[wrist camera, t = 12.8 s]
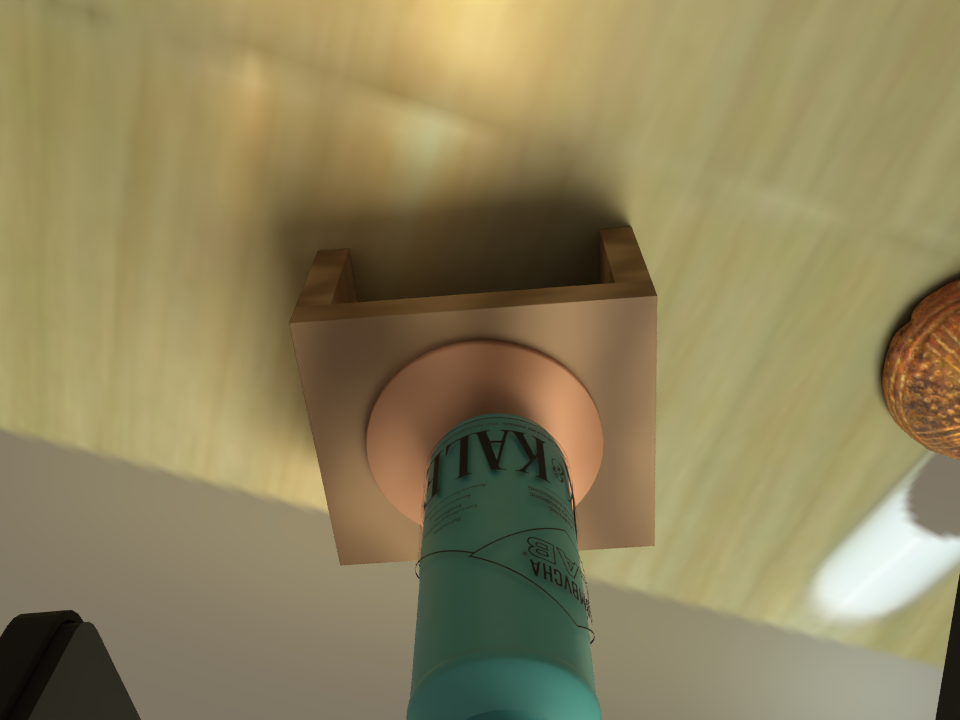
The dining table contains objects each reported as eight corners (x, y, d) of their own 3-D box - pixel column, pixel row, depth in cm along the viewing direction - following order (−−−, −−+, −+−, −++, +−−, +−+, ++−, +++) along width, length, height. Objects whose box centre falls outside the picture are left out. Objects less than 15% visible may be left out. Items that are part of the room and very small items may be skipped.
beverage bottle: (518, 524, 45) (545, 957, 27) (399, 466, 43) (347, 890, 26) (595, 428, 42) (678, 842, 25) (470, 363, 40) (467, 758, 23)
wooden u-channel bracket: (631, 226, 46) (659, 301, 39) (632, 453, 53) (656, 553, 46) (317, 251, 47) (286, 329, 40) (358, 471, 54) (338, 573, 47)
